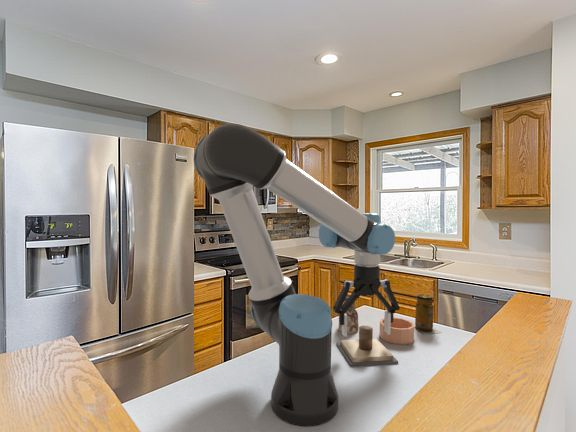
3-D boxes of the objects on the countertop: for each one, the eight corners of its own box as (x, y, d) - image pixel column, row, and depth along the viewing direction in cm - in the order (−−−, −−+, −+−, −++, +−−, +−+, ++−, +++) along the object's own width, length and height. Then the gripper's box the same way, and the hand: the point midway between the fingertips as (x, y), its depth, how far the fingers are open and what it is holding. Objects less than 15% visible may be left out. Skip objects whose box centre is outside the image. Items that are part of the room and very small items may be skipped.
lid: (353, 362, 91) (353, 337, 91) (340, 343, 103) (340, 321, 103) (393, 359, 93) (393, 335, 92) (376, 342, 105) (376, 320, 104)
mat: (350, 366, 90) (350, 364, 90) (336, 344, 104) (336, 342, 104) (398, 363, 92) (398, 361, 92) (377, 342, 106) (377, 340, 106)
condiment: (426, 324, 123) (427, 293, 122) (441, 333, 114) (442, 299, 114) (409, 325, 121) (410, 294, 121) (423, 334, 113) (424, 300, 112)
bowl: (388, 345, 104) (388, 330, 103) (374, 331, 114) (374, 318, 114) (420, 343, 105) (420, 328, 105) (403, 330, 116) (404, 316, 116)
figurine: (338, 332, 114) (338, 298, 113) (338, 325, 121) (338, 293, 120) (359, 333, 113) (359, 299, 112) (357, 326, 120) (358, 294, 119)
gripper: (400, 261, 102) (398, 327, 103) (323, 263, 99) (322, 331, 100) (412, 265, 95) (411, 336, 96) (329, 267, 91) (329, 341, 92)
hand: (366, 334), depth 98 cm, fingers open, 13 cm apart
